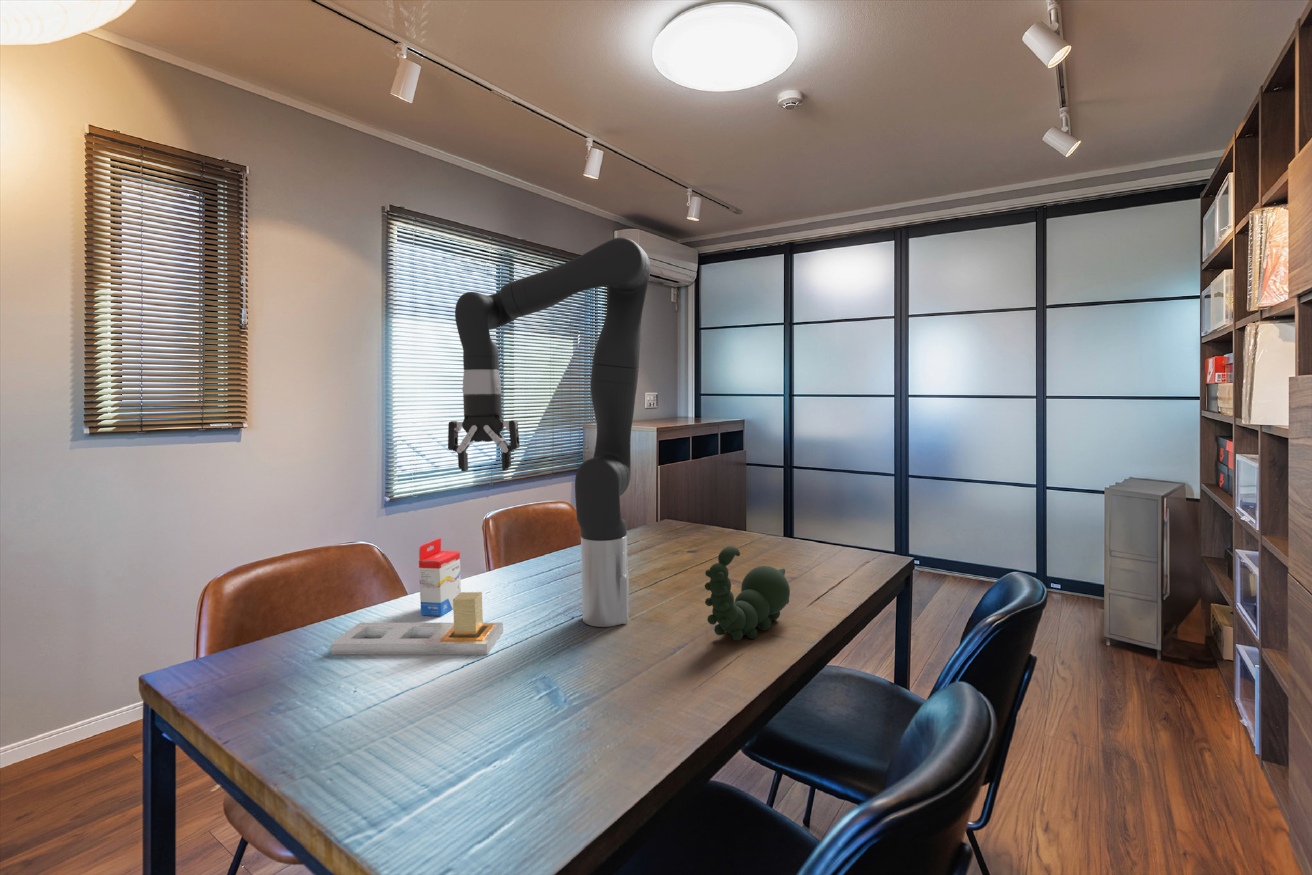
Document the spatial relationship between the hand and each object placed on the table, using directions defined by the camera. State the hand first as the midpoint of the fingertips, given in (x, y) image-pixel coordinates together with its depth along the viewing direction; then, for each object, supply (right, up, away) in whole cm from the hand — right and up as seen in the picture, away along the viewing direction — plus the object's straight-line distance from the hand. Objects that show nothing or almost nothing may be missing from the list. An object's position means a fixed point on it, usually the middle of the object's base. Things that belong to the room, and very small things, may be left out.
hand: (484, 470), depth 127 cm
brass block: (+1, -31, -14) cm, 34 cm away
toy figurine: (+54, -30, -9) cm, 63 cm away
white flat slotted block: (-8, -31, -14) cm, 35 cm away
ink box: (-11, -30, +5) cm, 32 cm away
